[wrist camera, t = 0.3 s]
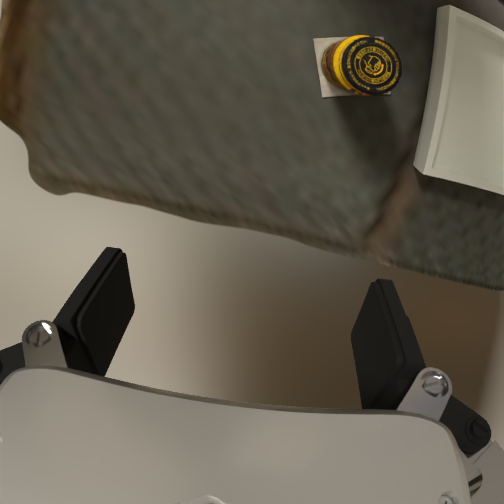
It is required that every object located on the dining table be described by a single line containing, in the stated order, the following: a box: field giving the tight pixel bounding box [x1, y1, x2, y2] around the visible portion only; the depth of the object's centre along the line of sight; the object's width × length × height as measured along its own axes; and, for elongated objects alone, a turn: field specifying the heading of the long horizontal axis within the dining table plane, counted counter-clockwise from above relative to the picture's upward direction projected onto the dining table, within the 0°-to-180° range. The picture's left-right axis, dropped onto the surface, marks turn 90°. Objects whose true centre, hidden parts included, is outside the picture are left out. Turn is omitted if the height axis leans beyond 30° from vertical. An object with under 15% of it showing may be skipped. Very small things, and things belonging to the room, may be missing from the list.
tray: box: [413, 5, 504, 195], centre depth 29 cm, size 22×18×4 cm
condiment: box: [313, 35, 402, 97], centre depth 26 cm, size 7×8×12 cm
